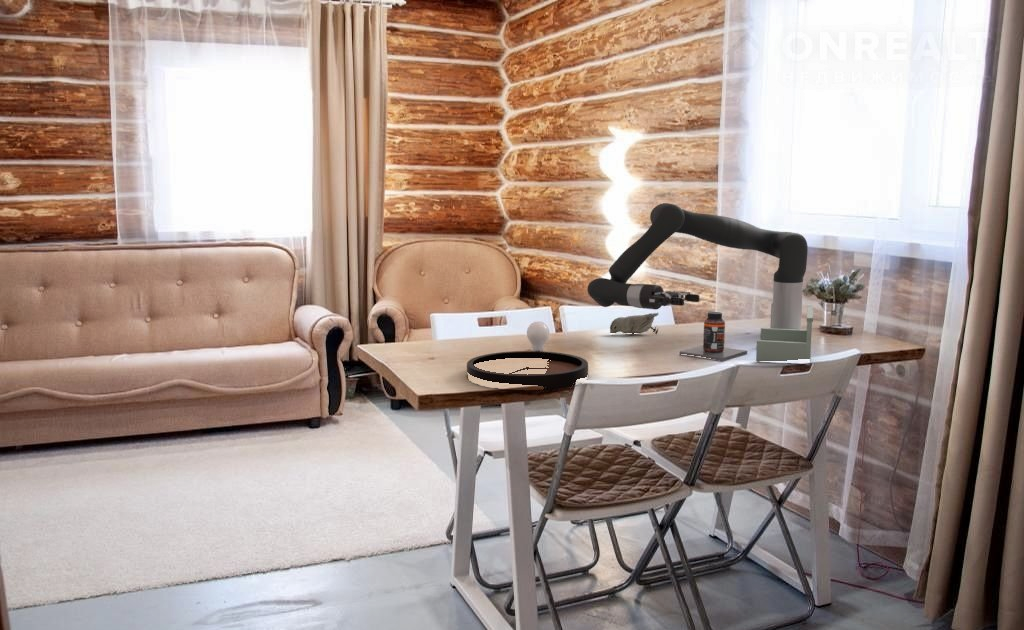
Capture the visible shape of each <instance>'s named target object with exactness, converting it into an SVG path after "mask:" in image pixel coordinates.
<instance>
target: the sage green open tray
mask: <svg viewBox="0 0 1024 630" xmlns="http://www.w3.org/2000/svg"><path fill="white" fill-rule="evenodd" d="M813 308H814V307H813V306H806V329H801V330H795V329H773V328H770V327H761V328H760V339H758V340H756V350H755V351H756V353H755V354H756V355H755V357H756V358H755V361H787V360H798V359H810V360H811V355H812V354H811V353H812V351H811V350H812V332H813V331H812V330H813V322H814V309H813ZM805 366H811V363H810V364H806V365H805Z"/></svg>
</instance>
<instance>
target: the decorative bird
mask: <svg viewBox="0 0 1024 630" xmlns="http://www.w3.org/2000/svg"><path fill="white" fill-rule="evenodd" d="M657 316H659V312H654V313H647V314H641V315H640V314H639V315H630V316H629V315H628V316H625V317H624V316H622V317H621V316H619V317H617V318H614V319H613V320H612V321H611V323H610V327H609V331H610V332H609V334H610V333H615V334H617V333H622V334H624V333H632V334H634V333H640V334H643V333H645V332H648V331H649V330H650V329H651V330H653V331H652V333H653V332H654V333H653V334H656V335H658V332H659V328H657V326H655V327H653V326H652V325H653V323H654V320H655V317H657ZM656 328H657V329H656ZM634 335H635V334H634Z"/></svg>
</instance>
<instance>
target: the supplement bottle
mask: <svg viewBox="0 0 1024 630" xmlns="http://www.w3.org/2000/svg"><path fill="white" fill-rule="evenodd" d="M703 323H704V324H703V341H702V342H703V344H702V345H703V350H704V351H707V352H722V351H723V350H724V347H725V335H726V333H725V331H726V322H725V320H723V313H722V312H720V311H708V312H707V318H706V319H705V320H704V322H703Z"/></svg>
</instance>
